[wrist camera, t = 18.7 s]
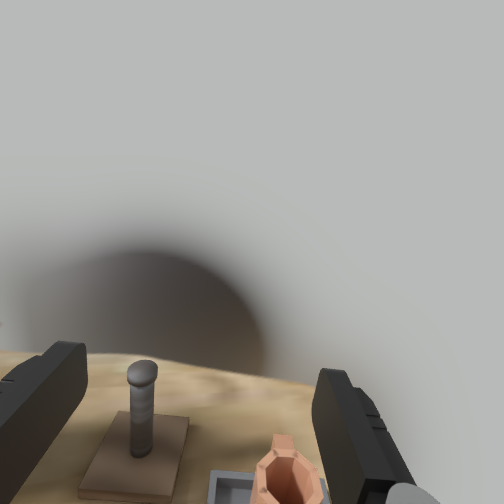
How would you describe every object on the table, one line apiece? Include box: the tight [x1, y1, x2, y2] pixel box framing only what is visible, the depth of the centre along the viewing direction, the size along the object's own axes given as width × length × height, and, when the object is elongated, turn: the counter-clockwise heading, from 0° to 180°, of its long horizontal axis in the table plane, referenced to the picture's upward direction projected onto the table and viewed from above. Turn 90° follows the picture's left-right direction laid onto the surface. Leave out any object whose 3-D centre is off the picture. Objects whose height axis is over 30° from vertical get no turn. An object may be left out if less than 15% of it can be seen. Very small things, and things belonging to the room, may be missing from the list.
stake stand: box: [78, 360, 189, 504], centre depth 34 cm, size 10×10×14 cm
